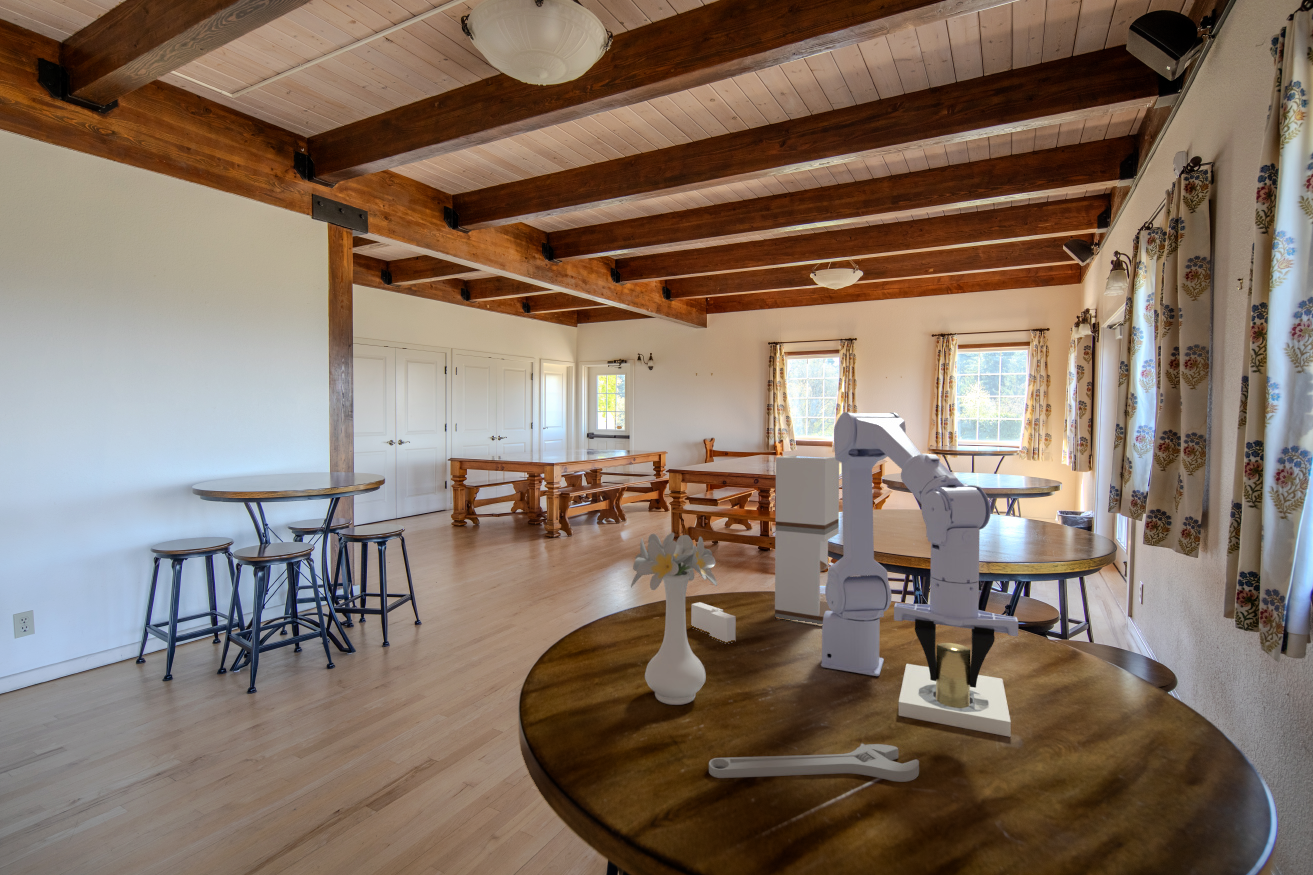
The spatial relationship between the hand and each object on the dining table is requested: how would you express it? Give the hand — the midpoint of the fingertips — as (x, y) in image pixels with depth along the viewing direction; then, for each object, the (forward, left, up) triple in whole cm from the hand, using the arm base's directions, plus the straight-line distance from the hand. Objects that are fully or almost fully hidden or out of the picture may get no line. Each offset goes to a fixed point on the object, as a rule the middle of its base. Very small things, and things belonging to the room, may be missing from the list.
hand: (952, 681), depth 81 cm
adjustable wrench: (-15, -14, -9) cm, 22 cm away
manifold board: (0, +13, -8) cm, 15 cm away
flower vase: (-39, -3, -8) cm, 40 cm away
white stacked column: (-29, +47, -8) cm, 56 cm away
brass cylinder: (0, 0, -3) cm, 3 cm away
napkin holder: (-43, +26, -9) cm, 51 cm away
